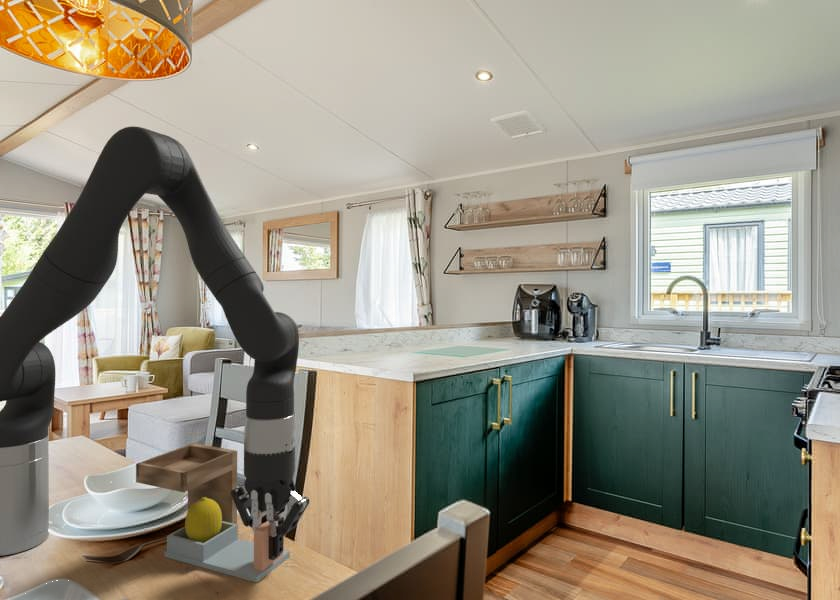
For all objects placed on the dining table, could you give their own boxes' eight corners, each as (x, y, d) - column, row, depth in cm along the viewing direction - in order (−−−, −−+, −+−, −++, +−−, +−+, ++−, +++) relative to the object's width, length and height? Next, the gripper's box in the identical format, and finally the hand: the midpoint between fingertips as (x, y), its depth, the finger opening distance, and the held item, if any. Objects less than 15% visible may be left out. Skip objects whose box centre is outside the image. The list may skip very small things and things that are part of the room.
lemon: (197, 558, 80) (198, 507, 80) (178, 547, 84) (178, 498, 83) (229, 544, 85) (229, 496, 85) (209, 534, 88) (209, 488, 88)
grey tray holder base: (164, 556, 82) (164, 514, 82) (202, 534, 90) (203, 495, 90) (256, 582, 76) (257, 536, 75) (289, 556, 83) (290, 514, 83)
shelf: (136, 553, 83) (136, 463, 83) (192, 522, 94) (193, 443, 94) (183, 566, 80) (183, 472, 79) (236, 533, 90) (237, 450, 90)
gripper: (216, 444, 78) (216, 558, 79) (292, 457, 73) (291, 578, 74) (250, 432, 85) (249, 536, 86) (322, 442, 80) (320, 553, 81)
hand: (269, 555), depth 80 cm, fingers closed on grey tray holder base
